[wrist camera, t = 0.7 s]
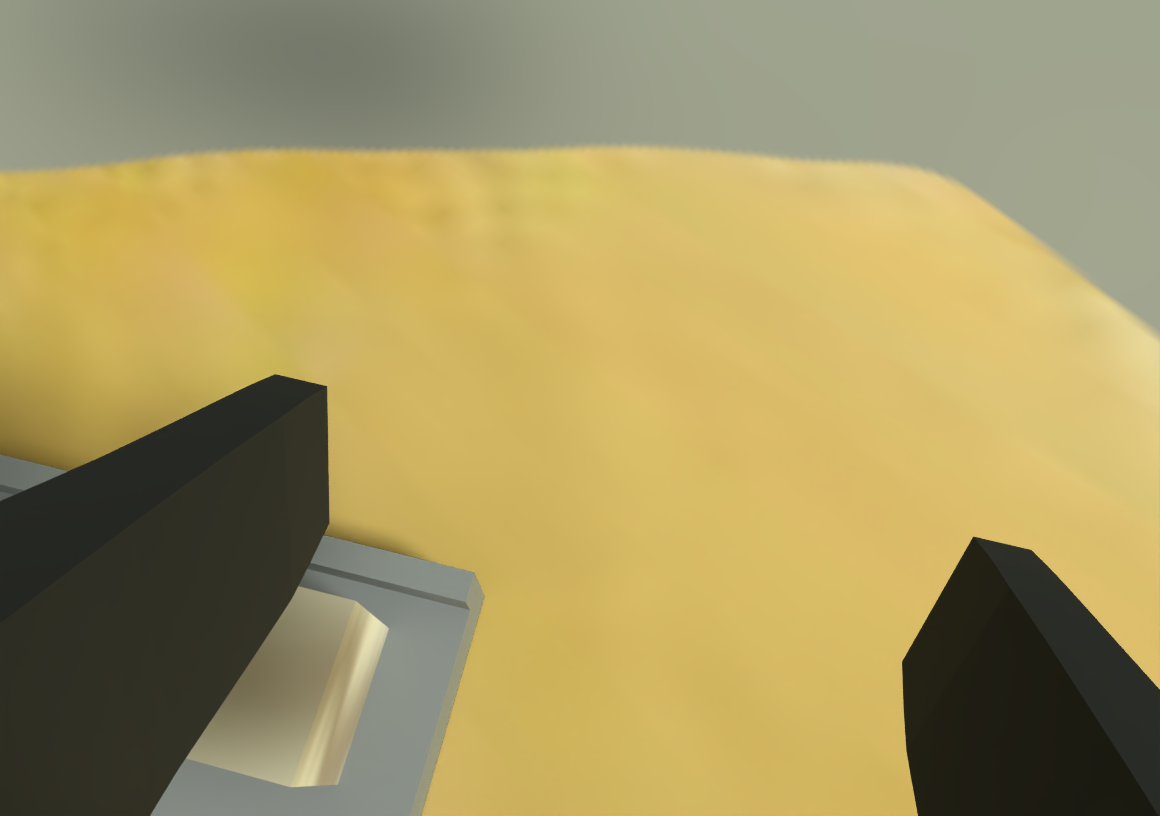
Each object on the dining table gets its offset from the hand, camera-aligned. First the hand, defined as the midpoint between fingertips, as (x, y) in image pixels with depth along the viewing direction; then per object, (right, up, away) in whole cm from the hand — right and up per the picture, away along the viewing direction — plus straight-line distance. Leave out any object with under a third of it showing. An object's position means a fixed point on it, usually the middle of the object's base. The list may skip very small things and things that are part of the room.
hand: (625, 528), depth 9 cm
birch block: (-8, -6, +13) cm, 16 cm away
